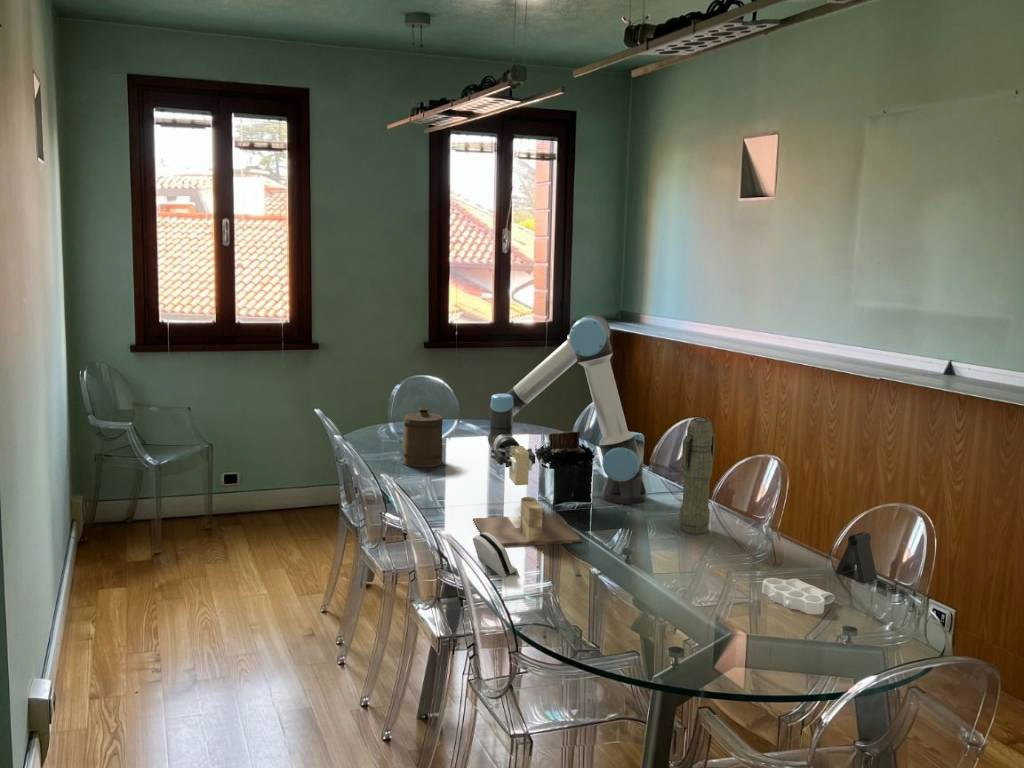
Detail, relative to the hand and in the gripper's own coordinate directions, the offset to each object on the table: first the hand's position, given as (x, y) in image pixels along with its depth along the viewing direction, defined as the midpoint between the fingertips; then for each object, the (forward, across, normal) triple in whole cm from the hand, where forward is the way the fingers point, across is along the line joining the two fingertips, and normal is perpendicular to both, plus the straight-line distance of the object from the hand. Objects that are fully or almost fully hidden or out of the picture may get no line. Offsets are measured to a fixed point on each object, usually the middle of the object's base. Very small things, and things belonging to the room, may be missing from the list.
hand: (522, 466), depth 292 cm
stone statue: (+8, -53, -20) cm, 57 cm away
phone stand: (+50, -82, -20) cm, 99 cm away
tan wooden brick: (-5, 0, -6) cm, 8 cm away
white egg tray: (+63, -58, -21) cm, 88 cm away
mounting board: (+2, -1, -20) cm, 20 cm away
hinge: (+29, +14, -20) cm, 39 cm away
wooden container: (-83, +20, -20) cm, 87 cm away
